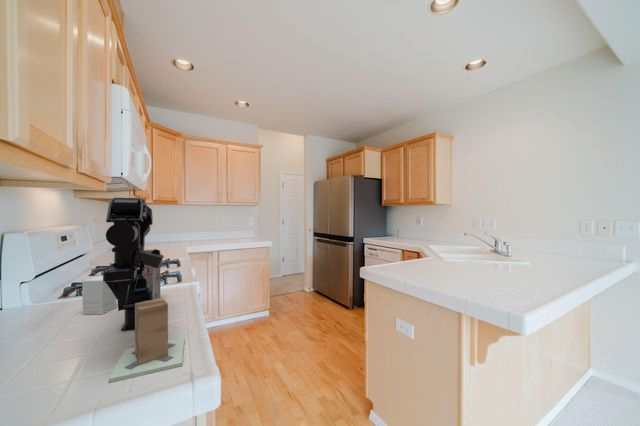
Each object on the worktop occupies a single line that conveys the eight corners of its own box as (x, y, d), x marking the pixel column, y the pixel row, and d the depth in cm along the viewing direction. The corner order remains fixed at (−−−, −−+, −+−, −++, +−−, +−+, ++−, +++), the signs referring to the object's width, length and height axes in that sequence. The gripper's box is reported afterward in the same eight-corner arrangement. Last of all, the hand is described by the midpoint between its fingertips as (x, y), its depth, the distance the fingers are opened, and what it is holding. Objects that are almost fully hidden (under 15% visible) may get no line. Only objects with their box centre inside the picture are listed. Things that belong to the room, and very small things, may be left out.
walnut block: (135, 354, 65) (135, 303, 66) (162, 346, 70) (162, 298, 70) (139, 364, 61) (139, 309, 61) (168, 355, 65) (167, 303, 65)
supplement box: (117, 307, 103) (117, 275, 103) (102, 314, 95) (102, 280, 95) (98, 307, 102) (98, 275, 102) (81, 315, 95) (81, 280, 95)
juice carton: (153, 304, 105) (152, 250, 105) (135, 305, 104) (134, 251, 104) (160, 299, 112) (160, 248, 112) (143, 300, 111) (143, 249, 111)
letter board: (124, 352, 69) (124, 348, 69) (184, 340, 75) (184, 337, 75) (108, 382, 56) (108, 378, 56) (182, 366, 62) (182, 362, 62)
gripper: (157, 244, 67) (157, 305, 67) (165, 239, 84) (165, 287, 83) (102, 247, 62) (102, 312, 62) (122, 240, 79) (122, 292, 79)
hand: (127, 299), depth 71 cm, fingers open, 9 cm apart
